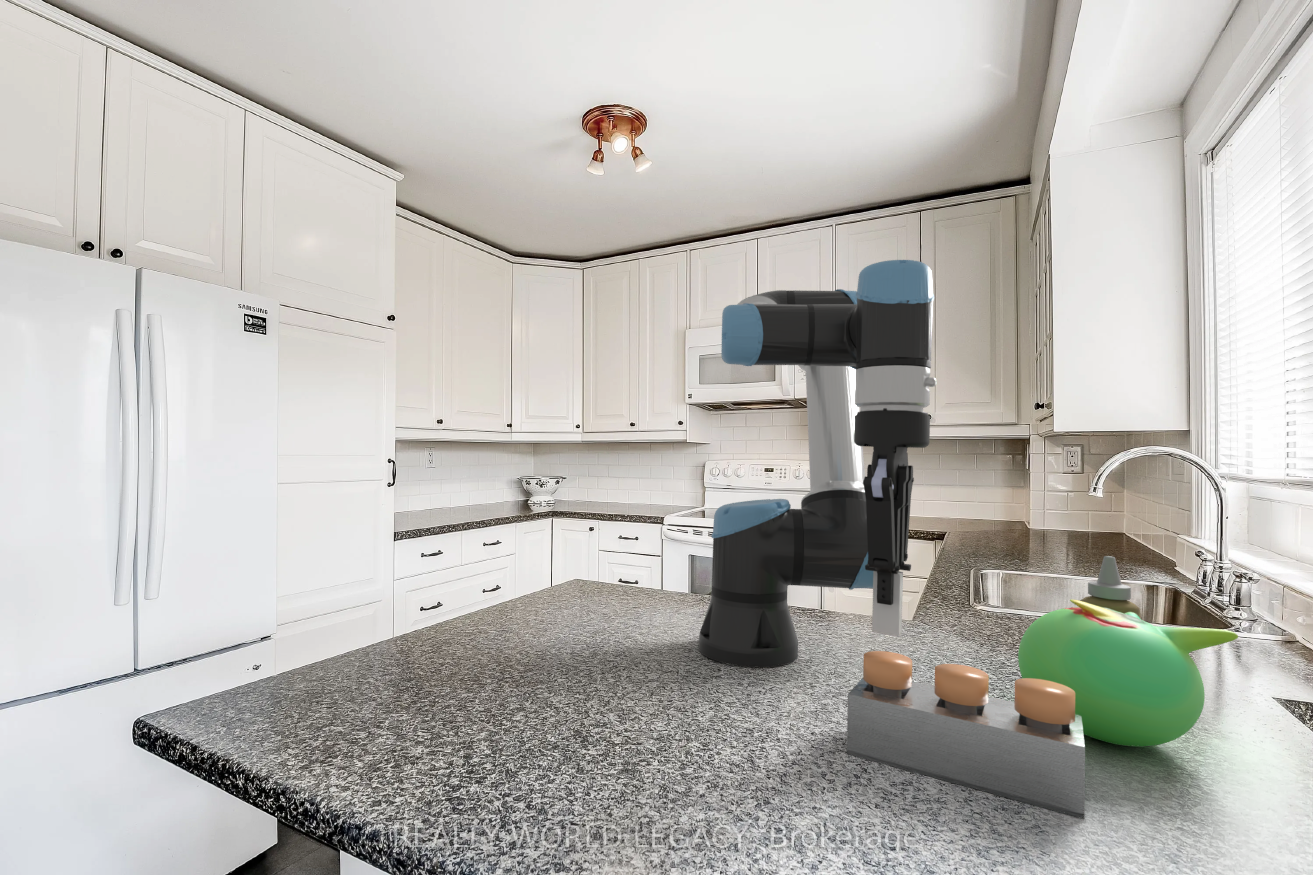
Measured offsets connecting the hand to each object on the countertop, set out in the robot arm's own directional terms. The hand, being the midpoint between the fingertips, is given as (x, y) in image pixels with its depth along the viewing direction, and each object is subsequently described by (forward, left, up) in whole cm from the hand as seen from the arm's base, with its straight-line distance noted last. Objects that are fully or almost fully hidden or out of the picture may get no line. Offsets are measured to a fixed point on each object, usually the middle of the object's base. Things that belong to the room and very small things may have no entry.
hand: (886, 632), depth 67 cm
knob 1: (0, 0, -10) cm, 10 cm away
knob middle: (+7, 0, -10) cm, 12 cm away
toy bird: (+20, +18, -12) cm, 29 cm away
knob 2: (+14, 0, -10) cm, 17 cm away
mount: (+7, 0, -12) cm, 14 cm away
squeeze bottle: (+21, +34, -12) cm, 41 cm away
